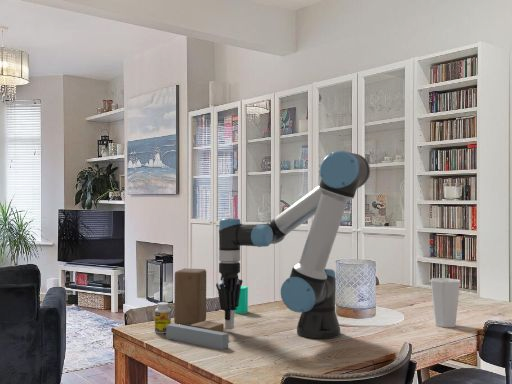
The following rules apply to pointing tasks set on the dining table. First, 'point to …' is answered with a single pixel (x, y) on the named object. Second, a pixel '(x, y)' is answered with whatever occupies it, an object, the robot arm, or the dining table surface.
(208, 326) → the walnut block
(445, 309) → the cup
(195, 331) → the board
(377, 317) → the dining table surface
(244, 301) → the candle
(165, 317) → the supplement bottle
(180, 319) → the wooden block
